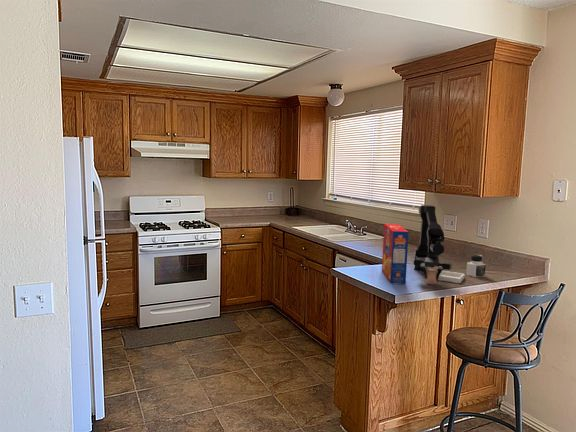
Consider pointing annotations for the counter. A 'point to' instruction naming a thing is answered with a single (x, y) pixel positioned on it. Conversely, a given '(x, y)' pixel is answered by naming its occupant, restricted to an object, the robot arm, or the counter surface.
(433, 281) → the peach rounded cylinder
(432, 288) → the counter surface
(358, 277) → the counter surface
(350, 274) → the counter surface
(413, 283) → the counter surface
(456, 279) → the tray
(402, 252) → the cereal box
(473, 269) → the medicine bottle
